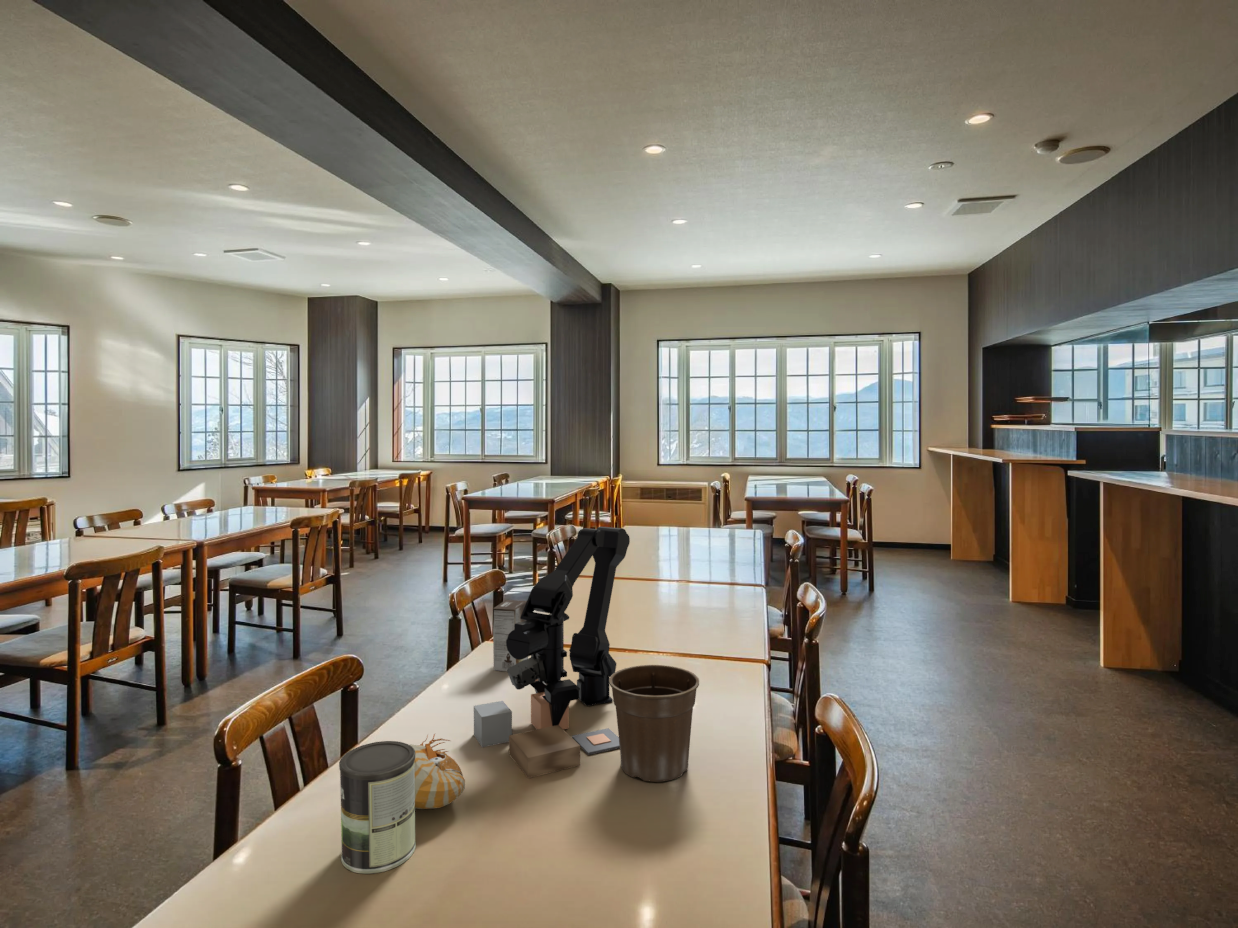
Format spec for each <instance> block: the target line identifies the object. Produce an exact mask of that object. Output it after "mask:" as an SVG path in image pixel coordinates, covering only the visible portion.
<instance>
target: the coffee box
mask: <svg viewBox="0 0 1238 928" xmlns="http://www.w3.org/2000/svg"><path fill="white" fill-rule="evenodd" d="M526 602H527V600H512V599H511V600H510V599H505V600H503V601H502V602H500V603H499V604H498V605H496V606H494V607H493V608H492V639H493V641H492V643H493V649H492V650H493V671H500V672H507V669H508V668H510V667H512V666H514V665H516V664H517V663H519V662H521V661H523V660H526V659H528V658H529V657H526V658H524V659H522V660H518V659H515V658H513V657H512V656H511V655H510V653H509V652H508V650H507V646H506V640H507V637H508V635H509V633H510V632H511V631H513V630H514V625H515V623H518V622H523V621H526V620H522V619H520V617H521V615H522V612H523V610H524V607H525V605H526Z"/></svg>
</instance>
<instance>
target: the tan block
mask: <svg viewBox="0 0 1238 928" xmlns="http://www.w3.org/2000/svg"><path fill="white" fill-rule="evenodd" d="M508 752H509V753H508V755H509V756H510V758H511V759H512V760H513V762H515V764H516V765H517V766H518V767H519V769H520V770H521V771H522V772H523V774H524V775H525V776H526V778H527V779H531V778H535V777H540V776H543V775H547V774H550V773H556V772H558V771H562V770H567V769H571V768H575V767H579V766H581V747H580V745H579V744H578V743H577V742H576V741H575V740H574V739H573V738H572V735H569V734H568V733H567V732H566V731H565V729H564V730H563V729H562V728H561V727H560V726H559V725H556V726H551V727H546V728H542V729H534V730H533V729H532V730H529V731H524V732H519V733H513V734H512V735H509V742H508Z"/></svg>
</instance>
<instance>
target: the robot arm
mask: <svg viewBox="0 0 1238 928" xmlns="http://www.w3.org/2000/svg"><path fill="white" fill-rule="evenodd" d="M630 539H631V538H630V535H629V533H627V531H626V529H624V528H621V527H611V526H609V527H608V526H598V527H597V528H590V527H589V528H588V527H585V528H581V529H580V530H578V533H577V536H576V539H575V540H574V542H573V543H572V545H571V546H570V547H569V549H568V550H567V551H566V553H565V555H564V556H563V557H562V559H561V560H560V562H559V563H558V565H557V566H556V568H554V570H553V571H552V572H551V573H548V574H546V575H545V576H543V577H541V578H540V579H539V580H538V581H537V582H536V583H535V585H534V586H533V587H532V589H531V590H530V593H529V595H528V598H527V600H526V601H527V602H526V605H525V607H524V610H523V612H522V615H521V617H520V619H522V620H526V621H523V622H518V623H515V625H514V630H513V631H511V632H510V633H509V635H508V637H507V640H506V646H507V650H508V652H509V653H510V655H511V656H512V657H513V658H515V659H518V660H522V659H524V658H526V657H528V659H526V660H523V661H521V662H519V663H517V664H516V665H514V666H512V667H510V668H508V669H507V671H506V672H507V675H508V676H509V677H508V678H509V680H510V683H511V684H512V686H513V687H515V689H516V690H523V689H524V688H525V687H527V686H529V685H530V686H531V687H532V688H533V689H534V691H535V694H536V693H541V692H545V696H542V697H543V698H544V699H545V700H546V701H547V702H548V703H549V707H550V714H551V721H552V726H556V725H559V723H560V721H561V719H562V717H563V715H564V713H565V711H566V709H567V707H568V705H569V706H570V703H571V702H572V701H577V700H579V701H580V702H581V703H582V704H583V705H585V706H586V707H590V706H595V705H601V704H605V703H611V702H613V697H611V696H610V684H609V678H610V676H611V675H612V674H613V673H615V672H616V671H617V662H616V661H615V659H614V658H613V657H612V656H611V654H610V646H611V645H610V644H611V643H610V641H609V638H608V636H607V633H606V628H607V627H606V626H607V622H608V615H609V612H610V611H609V609H610V604H611V600H612V599H611V598H612V592H613V589H614V587H613V586H614V582H615V576H616V571H617V568H618V567H619V565H620V563H622V561H624V559H625V558H626V555H627V552H628V548H629V546H630V543H631V542H630V541H631V540H630ZM592 558H593V561H594V569H593V572H592V579H591V583H590V584H591V585H590V591H589V594H588V595H589V596H588V600H587V601H588V602H587V607H586V612H585V616H584V622H583V626H582V628H581V629H580V630H579V632H575V633H574V632H573V634H572V637H571V644H570V647H569V651H566V650H565V648H564V640H565V639H564V633H565V631H564V622H565V621H568V620H569V619H570V616H569V614H567V613H565V612H566V611H567V609H568V607H569V605H570V603H571V601H572V599H573V596H574V594H573V593H574V592H573V587H574V585H575V583H576V581H577V580H578V578H579V577H580V575H581V574H582V572H583V571H584V570H585V567H586V566H587V565H588V563H589V562H590V560H591V559H592ZM535 611H536V612H535ZM568 652H569V655H568ZM568 656H569V660H570V664H571V667H572V668H571V669H572V672H573V673H578V679H576V683H575V682H574V681H572V680H571V679H569V678H568V679H563V680H561V679H562V678H567V677H568V672H567V670H566V669H565V668H564V665H565V664H564V661H565V660H564V658H567V657H568Z"/></svg>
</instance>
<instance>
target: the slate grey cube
mask: <svg viewBox="0 0 1238 928" xmlns="http://www.w3.org/2000/svg"><path fill="white" fill-rule="evenodd" d="M509 735H513V711H512V710H511V709H510V707H509V706H508V704H506V702H505V701H504V700H499V701H494V702H487V703H482V704H477V705H476V704H475V705H473V736H474V737H475V739H476V741H477V742H478V744H479V745H480V747H481V748H485V747H491V746H496V745H500V744H504V743H509Z"/></svg>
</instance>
